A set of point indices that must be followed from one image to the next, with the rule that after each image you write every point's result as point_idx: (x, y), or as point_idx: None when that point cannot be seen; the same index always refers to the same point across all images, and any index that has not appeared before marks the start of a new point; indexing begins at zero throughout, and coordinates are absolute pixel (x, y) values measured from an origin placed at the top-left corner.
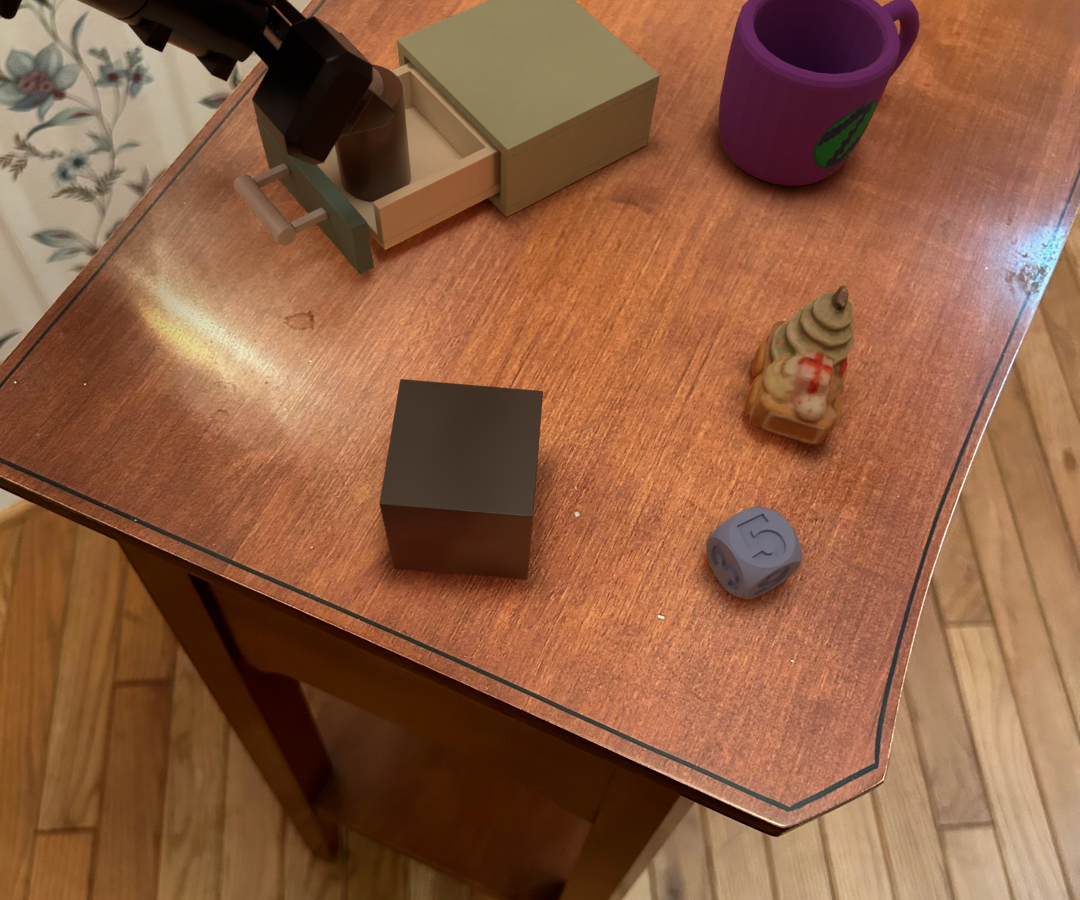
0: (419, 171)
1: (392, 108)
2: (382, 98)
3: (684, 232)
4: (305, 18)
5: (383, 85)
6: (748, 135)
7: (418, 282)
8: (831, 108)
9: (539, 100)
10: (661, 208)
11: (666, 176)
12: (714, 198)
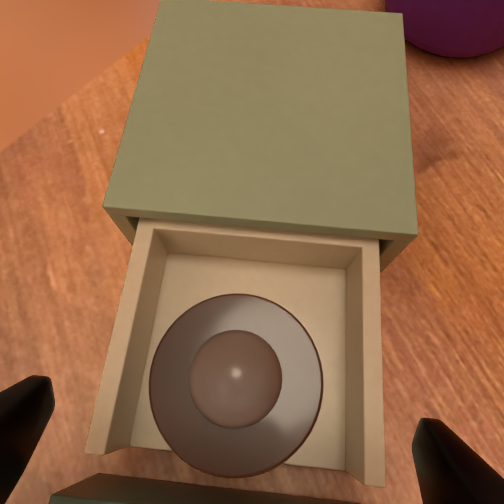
0: None
1: (454, 433)
2: (461, 460)
3: (501, 148)
4: (14, 405)
5: (267, 342)
6: (495, 17)
7: (408, 452)
8: None
9: (355, 138)
10: (457, 143)
11: (420, 111)
12: (473, 99)
